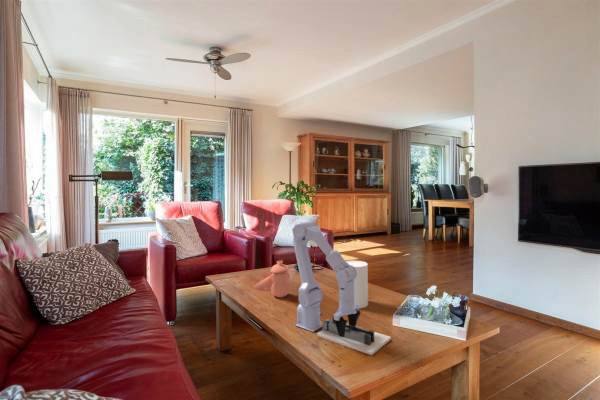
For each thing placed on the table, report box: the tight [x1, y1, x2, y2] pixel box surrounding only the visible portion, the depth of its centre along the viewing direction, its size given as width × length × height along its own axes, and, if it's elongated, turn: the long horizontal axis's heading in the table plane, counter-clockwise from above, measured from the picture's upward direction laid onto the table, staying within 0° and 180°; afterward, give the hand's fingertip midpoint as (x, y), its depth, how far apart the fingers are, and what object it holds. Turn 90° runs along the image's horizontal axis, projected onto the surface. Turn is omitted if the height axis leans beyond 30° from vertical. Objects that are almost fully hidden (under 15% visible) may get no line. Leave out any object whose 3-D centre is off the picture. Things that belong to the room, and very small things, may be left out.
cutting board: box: [316, 322, 392, 356], centre depth 128 cm, size 24×15×1 cm, turn 50°
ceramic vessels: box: [253, 260, 291, 298], centre depth 190 cm, size 35×21×19 cm, turn 19°
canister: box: [345, 259, 369, 309], centre depth 165 cm, size 14×14×20 cm
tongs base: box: [322, 318, 371, 346], centre depth 128 cm, size 21×3×4 cm, turn 50°
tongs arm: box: [331, 320, 375, 342], centre depth 128 cm, size 18×1×4 cm, turn 52°
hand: (347, 332), depth 128 cm, fingers open, 7 cm apart
